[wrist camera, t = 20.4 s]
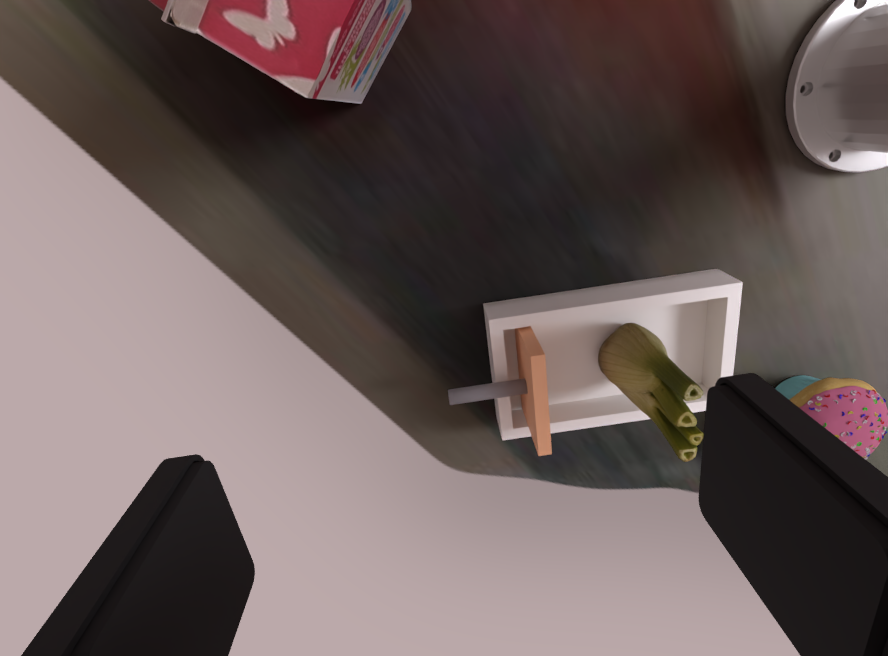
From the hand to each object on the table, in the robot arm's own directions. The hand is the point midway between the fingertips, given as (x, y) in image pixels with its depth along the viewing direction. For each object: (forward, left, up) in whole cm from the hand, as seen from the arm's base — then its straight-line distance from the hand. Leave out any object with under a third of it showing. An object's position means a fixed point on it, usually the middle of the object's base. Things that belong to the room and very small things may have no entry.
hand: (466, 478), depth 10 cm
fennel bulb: (-14, +14, -30) cm, 36 cm away
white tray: (-13, +14, -30) cm, 36 cm away
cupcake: (-30, +22, -31) cm, 48 cm away
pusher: (-3, +14, -29) cm, 32 cm away
